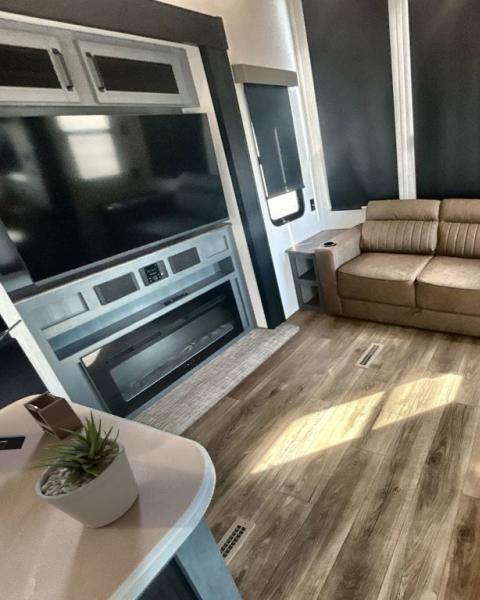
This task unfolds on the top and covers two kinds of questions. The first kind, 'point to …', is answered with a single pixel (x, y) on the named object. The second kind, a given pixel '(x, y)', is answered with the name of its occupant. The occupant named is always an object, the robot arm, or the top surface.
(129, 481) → the potted plant
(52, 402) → the brown open box
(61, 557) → the top surface
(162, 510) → the top surface
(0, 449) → the robot arm
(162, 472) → the top surface
